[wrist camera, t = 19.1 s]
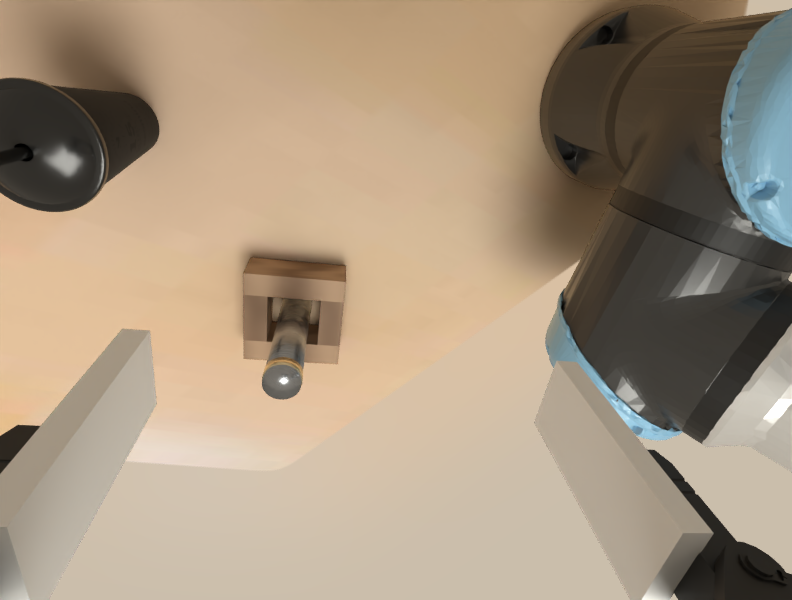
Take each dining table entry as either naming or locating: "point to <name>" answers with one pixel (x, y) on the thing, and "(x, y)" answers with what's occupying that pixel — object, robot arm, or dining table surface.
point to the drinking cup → (67, 141)
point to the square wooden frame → (295, 283)
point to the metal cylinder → (288, 350)
